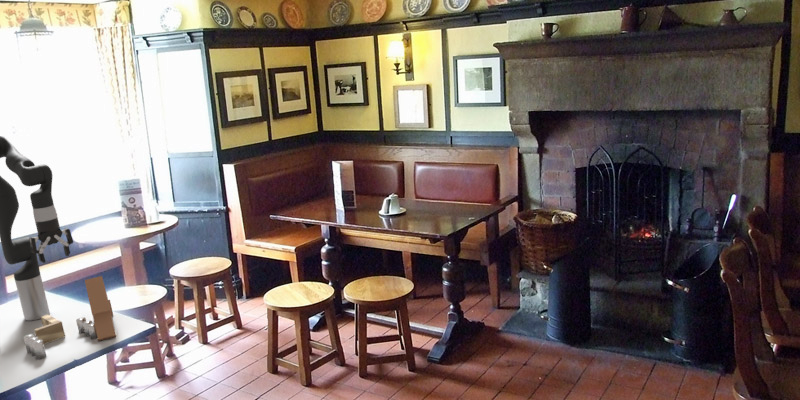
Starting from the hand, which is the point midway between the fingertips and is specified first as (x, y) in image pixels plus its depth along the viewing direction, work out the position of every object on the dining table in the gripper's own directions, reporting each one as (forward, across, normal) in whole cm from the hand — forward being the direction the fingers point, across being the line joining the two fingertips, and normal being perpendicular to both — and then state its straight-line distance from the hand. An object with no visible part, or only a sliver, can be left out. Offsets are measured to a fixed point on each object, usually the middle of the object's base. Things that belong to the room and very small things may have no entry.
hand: (55, 259), depth 247 cm
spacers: (+27, +9, +16) cm, 33 cm away
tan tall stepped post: (+28, -8, +14) cm, 32 cm away
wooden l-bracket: (+28, +10, +2) cm, 29 cm away
